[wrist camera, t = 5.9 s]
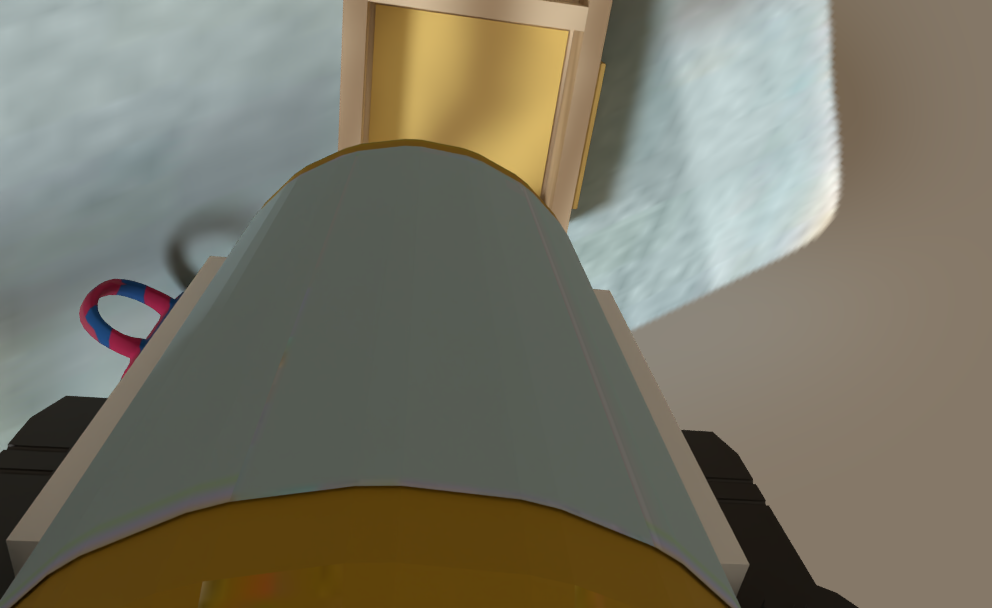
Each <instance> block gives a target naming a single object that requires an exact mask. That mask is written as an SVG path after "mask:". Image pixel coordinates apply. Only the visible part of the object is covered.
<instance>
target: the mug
mask: <svg viewBox="0 0 992 608" xmlns="http://www.w3.org/2000/svg"><path fill="white" fill-rule="evenodd" d="M184 292H185V291H184ZM184 292H183V293H184ZM183 293H181V294H180V295H179V296H178V297H177V298H176V299H173V298H171V297H170V296H168V295H166V294H164V293H162V292H160V291H158V290H155V289H153V288H151V287H149V286H146V285H144V284H141V283H138V282H135V281H130V280H125V279H112V280H108V281H105V282H103V283H101V284H99V285H98V286H97V287H95V288H94V289H92V290H91V291H90V292H89V293H88V295H87V296H86V298H85V299H84V301H83V303H82V305H81V307H80V312H79V315H80V321H81V323H82V325H83V327H84V329H85V330H86V331H87V332H88V333H89V334H90V335H91V336H92V337H93V338H94V339H95V340H97V341H98V342H99V343H101V344H103V345H104V346H106V347H108V348H109V349H111V350H113V351H115V352H117V353H119V354H122V355H124V356H126V357H129V358H130V363H129V365H128V367H127V369H126V370H125V372H124V374H123V376H122V378H123V377H124V375H125V374H126V372H127V371H128V370H129V368H130V367H131V365H132V364H133V363H134V361H135V360H136V358H137V357H138V356H139V354H140V353H141V351H142V350H143V349H144V347H145V346H146V345H147V343H148V342H149V340H150V339H151V338H152V336H153V335H154V333H155V332H156V331H157V329H158V328H159V326H160V325H161V324H162V322H163V321H164V319H165V318H166V317H167V315H168V314H169V313H170V311H171V310H172V308H173V307H174V306H175V304H176V303H177V301H178V300H179V299H180V297H181V296H182V294H183ZM107 295H121V296H125V297H129V298H132V299H135V300H138V301H140V302H142V303H144V304H146V305H148V306H150V307H151V308H153V309H154V310H156V311H157V312H158V313H159V314H160V315H161V316H160V319H159V321H158V323H157V324H156V325H155V327H154V328H153V330H152V331H151V333H150V334H149V336H148V337H147V338H146V339H142V338H134V337H130V336H127V335H124V334H122V333H120V332H118V331H117V330H115V329H113V328H112V327H111V326H109V325H108V324H107V323H106V322H105V321H104V320H103V319H102V318H101V316H100V314H99V312H98V305H97V304H98V300H99V298H101V297H103V296H107ZM122 378H121V379H122ZM120 381H121V380H120Z"/></svg>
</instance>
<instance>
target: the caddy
mask: <svg viewBox="0 0 992 608" xmlns="http://www.w3.org/2000/svg"><path fill="white" fill-rule="evenodd" d="M612 1H613V0H343V27H342V56H341V85H340V114H339V143H338V151H340V150H343V149H345V148H348V147H351V146H355V145H358V144H363V143H372V142H381V141H390V140H399V139H420V140H426V141H431V142H436V143H441V144H446V145H451V146H456V147H461V148H465V149H468V150H470V151H473V152H476V153H478V154H480V155H482V156H484V157H486V158H488V159H489V160H491V161H493V162H495V163H496V164H498V165H500V166H502V167H504V168H505V169H507V170H509V171H511V172H512V173H514V174H516V175H517V176H518V177H520V178H521V179H522V180H523V181H525V182H526V183H527V184H528V185H529V186H530V187H531V188H532V189H533V191H534V192H535V193H536V194H537V195H538V196H539V197H540V198H541V199H542V201H543V202H544V203H545V204H546V205H547V206H548V207H549V208H550V210H551V211H552V212H553V213H554V214H555V216H556V218H557V219H558V221H559V222H560V224H561V226H562V227H563V229H564V230H565V232H566V233H567V229H568V224H569V219H570V214H571V209H577V206H578V201H579V196H580V191H581V186H582V181H583V176H584V171H585V166H586V161H587V156H588V151H589V146H590V141H591V136H592V131H593V126H594V121H595V116H596V111H597V107H598V102H599V97H600V92H601V87H602V82H603V77H604V72H605V67H606V64H605V63H603V62H602V61H601V57H602V52H603V47H604V42H605V37H606V32H607V27H608V21H609V16H610V11H611V6H612Z"/></svg>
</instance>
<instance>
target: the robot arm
mask: <svg viewBox="0 0 992 608" xmlns="http://www.w3.org/2000/svg"><path fill="white" fill-rule="evenodd" d="M226 258H227V257H216V256H210V257H209V258H208V260H207V261H206V262H205V264H204V265H203V267H202V268H201V269H200V271H199V272H198V274H197V275H196V276H195V278H194V279H193V281H192V282H191V283H190V285H189V286H188V287H187V289H186V290H185V292H184V293H183V294H182V296H181V297H180V299H179V300H178V301H177V303H176V304H175V306H174V307H173V308H172V310H171V311H170V313H169V314H168V315H167V317H166V318H165V319H164V321H163V322H162V324H161V325H160V326H159V328H158V329H157V331H156V332H155V333H154V335H153V336H152V338H151V339H150V340H149V342H148V343H147V345H146V346H145V347H144V349H143V350H142V351H141V353H140V354H139V356H138V357H137V358H136V360H135V361H134V363H133V364H132V365H131V367H130V368H129V370H128V371H127V372H126V374H125V375H124V377H123V378H122V379H121V381H120V382H119V384H118V385H117V386H116V388H115V389H114V390H113V392H112V393H111V395H110V396H109V397H108V398H95V397H78V396H65V397H63V398H62V399H60V400H58V401H57V402H55V403H54V404H52V405H50V406H49V407H47V408H45V409H44V410H42V411H41V412H39V413H37V414H36V415H34V416H32V417H31V418H30V419H29V420H28V421H27V422H26V424H25V425H24V426H23V427H22V428H21V430H20V431H19V432H18V433H17V434H16V435H15V437H14V438H13V439H12V440H11V441H10V442H9V444H8V448H7V450H3V451H2V452H1V453H0V600H1V598H2V597H3V595H4V594H5V592H6V591H7V589H8V588H9V586H10V585H11V583H12V582H13V580H14V579H15V577H16V576H17V574H18V573H19V571H20V570H21V568H22V567H23V565H24V564H25V562H26V561H27V559H28V557H29V556H30V554H31V553H32V551H33V550H34V548H35V547H36V545H37V544H38V542H39V541H40V539H41V538H42V536H43V535H44V533H45V532H46V530H47V529H48V527H49V526H50V524H51V523H52V521H53V520H54V518H55V517H56V515H57V514H58V512H59V511H60V509H61V508H62V506H63V505H64V503H65V502H66V500H67V499H68V497H69V496H70V494H71V492H72V491H73V489H74V488H75V486H76V485H77V483H78V482H79V480H80V479H81V477H82V476H83V474H84V473H85V471H86V470H87V468H88V467H89V465H90V464H91V462H92V461H93V459H94V458H95V456H96V455H97V453H98V452H99V450H100V449H101V447H102V446H103V444H104V443H105V441H106V440H107V438H108V437H109V435H110V434H111V432H112V431H113V429H114V427H115V426H116V424H117V423H118V421H119V420H120V418H121V417H122V415H123V414H124V412H125V411H126V409H127V408H128V406H129V405H130V403H131V402H132V400H133V399H134V397H135V396H136V394H137V393H138V391H139V390H140V388H141V387H142V385H143V384H144V382H145V381H146V379H147V378H148V376H149V375H150V373H151V372H152V370H153V369H154V367H155V366H156V364H157V362H158V361H159V359H160V358H161V356H162V355H163V353H164V352H165V350H166V349H167V347H168V346H169V344H170V343H171V341H172V340H173V338H174V337H175V335H176V334H177V332H178V331H179V329H180V328H181V326H182V325H183V323H184V322H185V320H186V319H187V317H188V316H189V314H190V313H191V311H192V310H193V308H194V307H195V305H196V304H197V302H198V301H199V299H200V297H201V296H202V294H203V293H204V291H205V290H206V288H207V287H208V285H209V284H210V282H211V281H212V279H213V278H214V276H215V275H216V273H217V272H218V270H219V269H220V267H221V266H222V264H223V263H224V261H225V260H226ZM593 291H594V293H595V295H596V297H597V299H598V302H599V304H600V306H601V308H602V310H603V312H604V314H605V317H606V319H607V321H608V323H609V325H610V327H611V329H612V332H613V334H614V336H615V338H616V340H617V342H618V345H619V347H620V349H621V351H622V353H623V355H624V357H625V360H626V362H627V364H628V366H629V368H630V370H631V372H632V375H633V377H634V379H635V381H636V383H637V385H638V388H639V390H640V392H641V394H642V396H643V398H644V400H645V403H646V405H647V407H648V409H649V411H650V413H651V415H652V418H653V420H654V422H655V424H656V426H657V428H658V430H659V433H660V435H661V437H662V439H663V441H664V443H665V446H666V448H667V450H668V452H669V454H670V456H671V458H672V461H673V463H674V465H675V467H676V469H677V471H678V473H679V476H680V478H681V480H682V482H683V484H684V486H685V489H686V491H687V493H688V495H689V497H690V499H691V501H692V504H693V506H694V508H695V510H696V512H697V514H698V516H699V519H700V521H701V523H702V525H703V527H704V529H705V531H706V534H707V536H708V538H709V540H710V542H711V544H712V547H713V549H714V551H715V553H716V555H717V557H718V559H719V562H720V564H721V566H722V568H723V570H724V572H725V574H726V577H727V579H728V581H729V583H730V585H731V587H732V590H733V592H734V594H735V596H736V598H737V600H738V602H739V605H740V607H741V608H858V607H857V606H855V605H854V604H852V603H851V602H849V601H848V600H846V599H845V598H843V597H842V596H840V595H839V594H837V593H835V592H833V591H830V590H828V589H825V588H823V587H820V586H817V585H816V584H815V582H814V580H813V579H812V577H811V575H810V574H809V572H808V571H807V569H806V567H805V565H804V564H803V562H802V560H801V559H800V557H799V555H798V554H797V552H796V550H795V549H794V547H793V545H792V544H791V542H790V540H789V539H788V537H787V535H786V534H785V532H784V530H783V529H782V527H781V525H780V524H779V522H778V520H777V519H776V517H775V515H774V514H773V512H772V510H771V509H770V507H769V506H766V504H765V499H764V497H763V495H762V494H761V492H760V490H759V488H758V487H757V485H756V484H753V478H752V477H751V475H750V474H749V472H748V470H747V468H746V467H745V465H744V463H743V462H742V460H741V459H740V457H739V455H738V454H737V453H736V452H735V451H734V450H732V448H730V447H729V446H728V445H727V444H726V443H725V442H723V441H722V440H721V439H720V438H719V437H718V436H717V435H715V434H714V433H713V432H706V431H690V430H681V429H680V428H679V426H678V424H677V422H676V420H675V418H674V416H673V414H672V412H671V410H670V408H669V406H668V404H667V402H666V400H665V398H664V396H663V394H662V392H661V390H660V388H659V386H658V384H657V382H656V380H655V378H654V377H653V375H652V373H651V371H650V369H649V367H648V365H647V363H646V361H645V359H644V357H643V355H642V353H641V351H640V349H639V347H638V345H637V343H636V341H635V339H634V338H633V335H632V333H631V331H630V330H629V328H628V326H627V324H626V322H625V320H624V318H623V316H622V314H621V312H620V310H619V308H618V306H617V304H616V302H615V300H614V298H613V296H612V294H611V292H610V291H609V290H598V289H593Z"/></svg>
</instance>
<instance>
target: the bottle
mask: <svg viewBox="0 0 992 608" xmlns="http://www.w3.org/2000/svg"><path fill="white" fill-rule="evenodd" d="M0 608H741V607H740V605H739V602H738V600H737V598H736V596H735V594H734V592H733V590H732V587H731V585H730V583H729V581H728V579H727V577H726V574H725V572H724V570H723V568H722V566H721V564H720V562H719V559H718V557H717V555H716V553H715V551H714V549H713V547H712V544H711V542H710V540H709V538H708V536H707V534H706V531H705V529H704V527H703V525H702V523H701V521H700V519H699V516H698V514H697V512H696V510H695V508H694V506H693V504H692V501H691V499H690V497H689V495H688V493H687V491H686V489H685V486H684V484H683V482H682V480H681V478H680V476H679V473H678V471H677V469H676V467H675V465H674V463H673V461H672V458H671V456H670V454H669V452H668V450H667V448H666V446H665V443H664V441H663V439H662V437H661V435H660V433H659V430H658V428H657V426H656V424H655V422H654V420H653V418H652V415H651V413H650V411H649V409H648V407H647V405H646V403H645V400H644V398H643V396H642V394H641V392H640V390H639V388H638V385H637V383H636V381H635V379H634V377H633V375H632V372H631V370H630V368H629V366H628V364H627V362H626V360H625V357H624V355H623V353H622V351H621V349H620V347H619V345H618V342H617V340H616V338H615V336H614V334H613V332H612V329H611V327H610V325H609V323H608V321H607V319H606V317H605V314H604V312H603V310H602V308H601V306H600V304H599V302H598V299H597V297H596V295H595V293H594V291H593V289H592V287H591V284H590V282H589V280H588V278H587V276H586V274H585V271H584V269H583V267H582V265H581V263H580V261H579V259H578V256H577V254H576V252H575V250H574V248H573V246H572V244H571V241H570V239H569V237H568V235H567V233H566V232H565V230H564V229H563V227H562V226H561V224H560V222H559V221H558V219H557V218H556V216H555V214H554V213H553V212H552V211H551V210H550V208H549V207H548V206H547V205H546V204H545V203H544V202H543V201H542V199H541V198H540V197H539V196H538V195H537V194H536V193H535V192H534V191H533V189H532V188H531V187H530V186H529V185H528V184H527V183H526V182H525V181H523V180H522V179H521V178H520V177H518V176H517V175H516V174H514V173H512V172H511V171H509V170H507V169H505V168H504V167H502V166H500V165H498V164H496V163H495V162H493V161H491V160H489V159H488V158H486V157H484V156H482V155H480V154H478V153H476V152H473V151H470V150H468V149H465V148H461V147H456V146H451V145H446V144H441V143H436V142H431V141H426V140H420V139H399V140H390V141H381V142H372V143H363V144H358V145H355V146H351V147H348V148H345V149H343V150H340V151H338V152H336V153H334V154H332V155H330V156H327V157H325V158H323V159H321V160H319V161H317V162H314V163H312V164H310V165H308V166H306V167H305V168H303V169H302V170H300V171H299V172H297V173H296V174H294V175H293V176H292V177H291V178H290V179H289V180H288V181H287V182H286V183H285V184H284V185H283V186H282V187H281V188H280V189H279V190H278V191H277V192H276V193H275V194H274V195H273V196H272V197H271V198H270V199H269V200H268V201H267V202H266V203H265V204H264V206H263V207H262V208H261V210H260V211H259V212H258V213H257V214H256V215H255V217H254V218H253V219H252V221H251V222H250V224H249V225H248V226H247V228H246V229H245V231H244V232H243V234H242V236H241V237H240V239H239V240H238V242H237V243H236V245H235V246H234V248H233V249H232V251H231V252H230V254H229V255H228V257H227V258H226V260H225V261H224V263H223V264H222V266H221V267H220V269H219V270H218V272H217V273H216V275H215V276H214V278H213V279H212V281H211V282H210V284H209V285H208V287H207V288H206V290H205V291H204V293H203V294H202V296H201V297H200V299H199V301H198V302H197V304H196V305H195V307H194V308H193V310H192V311H191V313H190V314H189V316H188V317H187V319H186V320H185V322H184V323H183V325H182V326H181V328H180V329H179V331H178V332H177V334H176V335H175V337H174V338H173V340H172V341H171V343H170V344H169V346H168V347H167V349H166V350H165V352H164V353H163V355H162V356H161V358H160V359H159V361H158V362H157V364H156V366H155V367H154V369H153V370H152V372H151V373H150V375H149V376H148V378H147V379H146V381H145V382H144V384H143V385H142V387H141V388H140V390H139V391H138V393H137V394H136V396H135V397H134V399H133V400H132V402H131V403H130V405H129V406H128V408H127V409H126V411H125V412H124V414H123V415H122V417H121V418H120V420H119V421H118V423H117V424H116V426H115V427H114V429H113V431H112V432H111V434H110V435H109V437H108V438H107V440H106V441H105V443H104V444H103V446H102V447H101V449H100V450H99V452H98V453H97V455H96V456H95V458H94V459H93V461H92V462H91V464H90V465H89V467H88V468H87V470H86V471H85V473H84V474H83V476H82V477H81V479H80V480H79V482H78V483H77V485H76V486H75V488H74V489H73V491H72V492H71V494H70V496H69V497H68V499H67V500H66V502H65V503H64V505H63V506H62V508H61V509H60V511H59V512H58V514H57V515H56V517H55V518H54V520H53V521H52V523H51V524H50V526H49V527H48V529H47V530H46V532H45V533H44V535H43V536H42V538H41V539H40V541H39V542H38V544H37V545H36V547H35V548H34V550H33V551H32V553H31V554H30V556H29V557H28V559H27V561H26V562H25V564H24V565H23V567H22V568H21V570H20V571H19V573H18V574H17V576H16V577H15V579H14V580H13V582H12V583H11V585H10V586H9V588H8V589H7V591H6V592H5V594H4V595H3V597H2V598H1V600H0Z"/></svg>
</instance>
